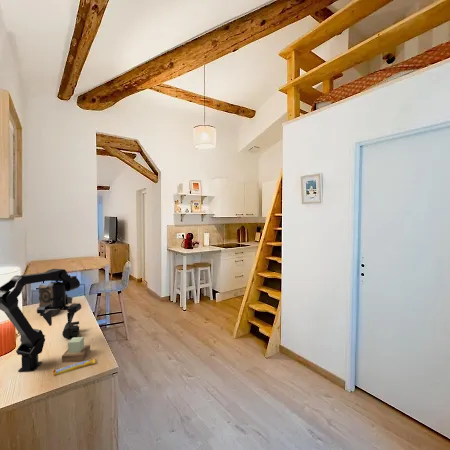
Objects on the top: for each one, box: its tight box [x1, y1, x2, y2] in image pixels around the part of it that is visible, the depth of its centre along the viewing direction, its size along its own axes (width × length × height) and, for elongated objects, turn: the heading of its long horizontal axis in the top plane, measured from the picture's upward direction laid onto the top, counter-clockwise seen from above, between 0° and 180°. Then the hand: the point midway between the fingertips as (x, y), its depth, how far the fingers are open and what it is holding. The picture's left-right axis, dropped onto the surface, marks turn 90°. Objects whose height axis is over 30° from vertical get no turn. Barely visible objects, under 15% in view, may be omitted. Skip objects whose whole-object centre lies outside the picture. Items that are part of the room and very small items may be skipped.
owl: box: [38, 284, 62, 318], centre depth 179 cm, size 13×13×20 cm
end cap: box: [61, 320, 80, 340], centre depth 149 cm, size 10×7×7 cm
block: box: [67, 336, 85, 353], centre depth 127 cm, size 5×5×5 cm
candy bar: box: [51, 358, 97, 376], centre depth 118 cm, size 17×4×2 cm, turn 124°
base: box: [61, 344, 91, 363], centre depth 128 cm, size 9×9×3 cm
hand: (60, 325), depth 133 cm, fingers open, 9 cm apart
